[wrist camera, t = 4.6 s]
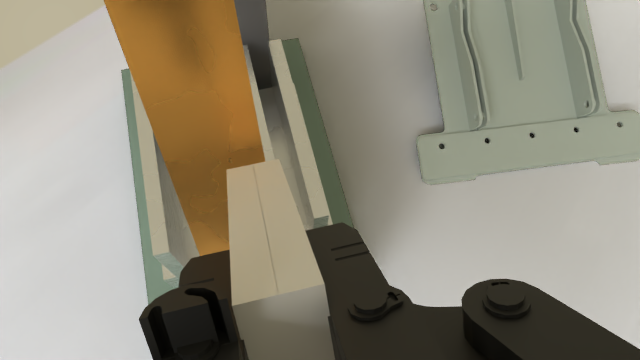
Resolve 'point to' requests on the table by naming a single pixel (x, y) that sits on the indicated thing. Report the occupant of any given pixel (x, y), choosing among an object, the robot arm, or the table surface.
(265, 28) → the slotted lug
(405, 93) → the table surface
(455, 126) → the metal bracket
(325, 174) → the grey green railed plate
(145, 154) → the heat sink
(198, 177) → the strap
